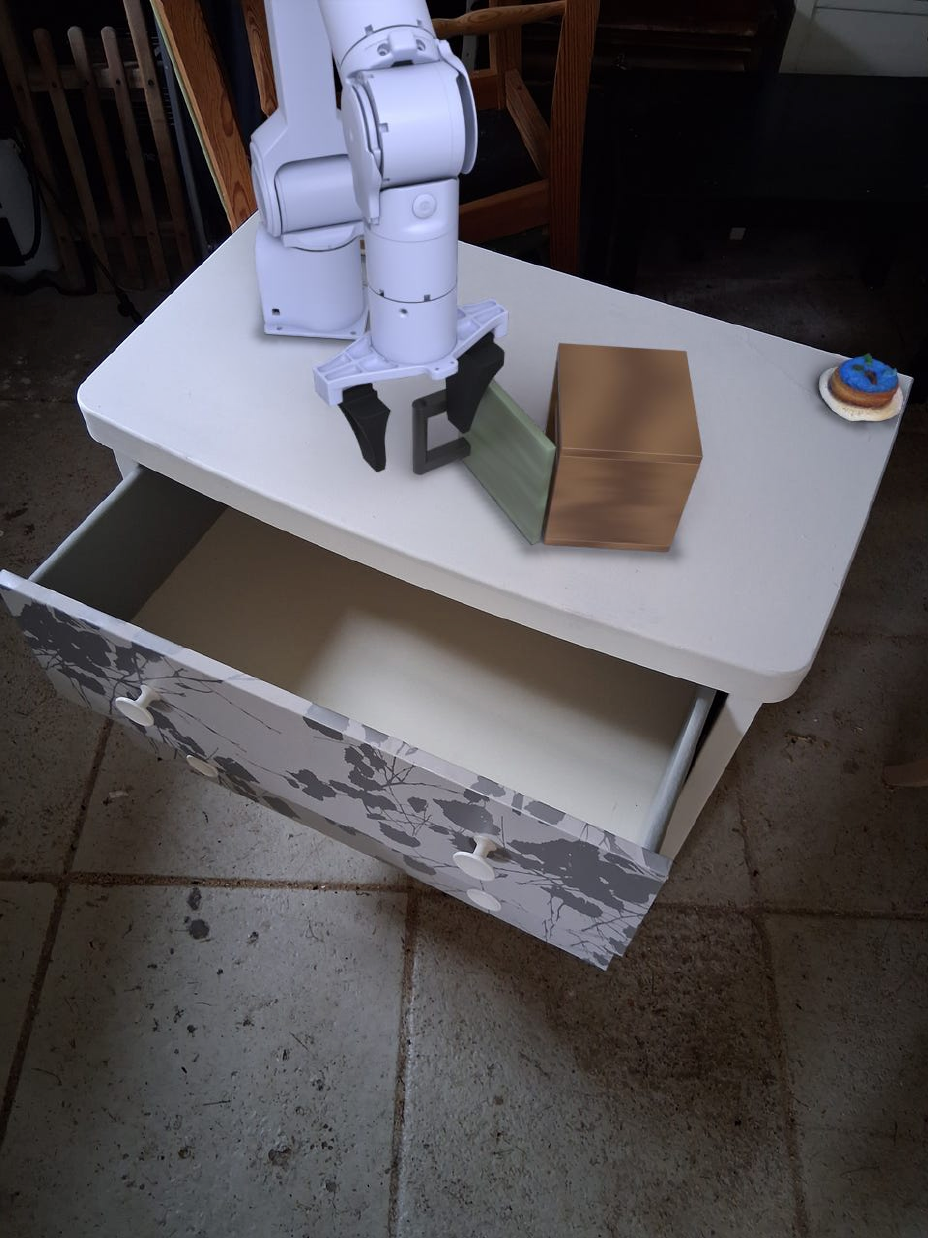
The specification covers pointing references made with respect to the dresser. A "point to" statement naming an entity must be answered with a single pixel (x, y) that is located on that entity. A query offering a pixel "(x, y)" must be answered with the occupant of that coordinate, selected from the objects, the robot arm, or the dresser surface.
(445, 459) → the door
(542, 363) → the dresser surface
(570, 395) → the cupboard
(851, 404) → the dessert
